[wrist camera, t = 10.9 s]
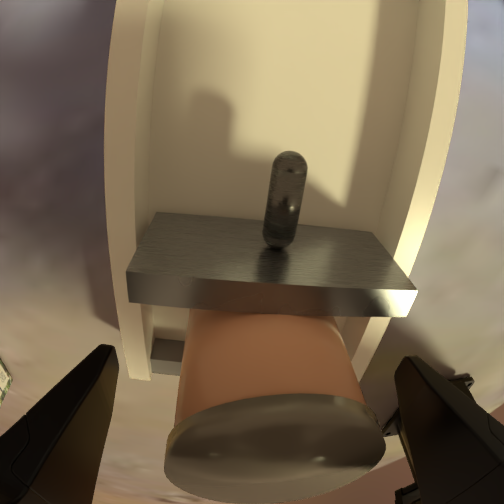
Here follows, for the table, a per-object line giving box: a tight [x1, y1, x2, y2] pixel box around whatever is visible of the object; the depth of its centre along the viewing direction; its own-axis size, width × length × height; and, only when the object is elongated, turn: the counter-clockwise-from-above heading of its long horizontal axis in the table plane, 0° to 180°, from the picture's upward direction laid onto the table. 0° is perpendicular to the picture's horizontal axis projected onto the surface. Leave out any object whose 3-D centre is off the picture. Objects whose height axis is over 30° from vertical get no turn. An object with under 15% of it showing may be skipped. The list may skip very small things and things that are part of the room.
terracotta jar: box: [164, 309, 386, 504], centre depth 10 cm, size 6×6×8 cm
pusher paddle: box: [126, 151, 418, 317], centre depth 10 cm, size 4×8×4 cm, turn 83°
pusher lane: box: [104, 0, 468, 383], centre depth 9 cm, size 20×11×6 cm, turn 173°
